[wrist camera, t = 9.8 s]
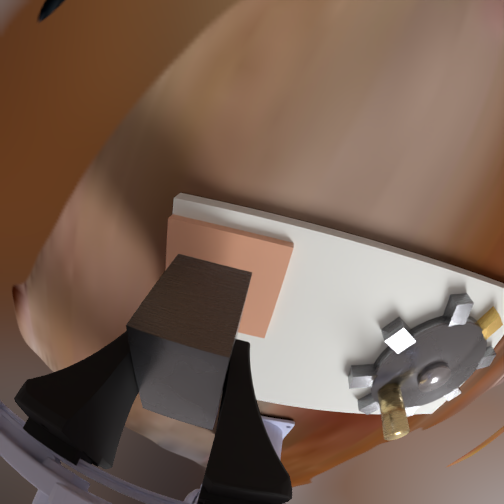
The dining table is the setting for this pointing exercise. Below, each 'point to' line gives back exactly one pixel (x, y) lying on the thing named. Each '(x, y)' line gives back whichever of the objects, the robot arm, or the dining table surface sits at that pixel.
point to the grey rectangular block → (187, 338)
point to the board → (319, 297)
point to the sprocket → (424, 363)
